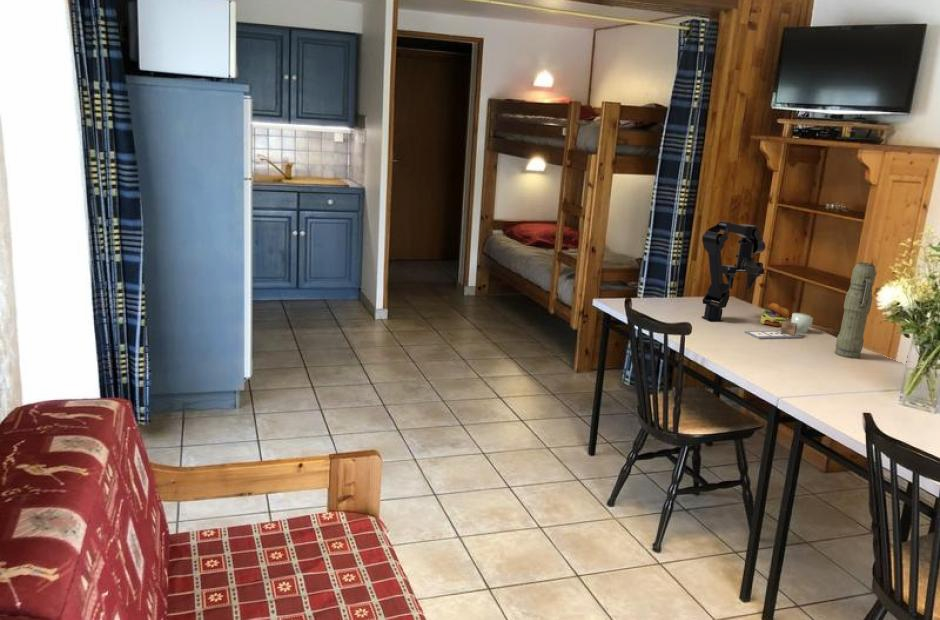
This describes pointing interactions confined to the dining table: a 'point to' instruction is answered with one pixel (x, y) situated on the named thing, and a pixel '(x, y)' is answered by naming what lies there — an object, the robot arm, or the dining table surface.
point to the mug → (802, 322)
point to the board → (771, 335)
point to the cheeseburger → (774, 315)
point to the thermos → (856, 311)
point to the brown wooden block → (789, 328)
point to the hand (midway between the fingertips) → (739, 289)
